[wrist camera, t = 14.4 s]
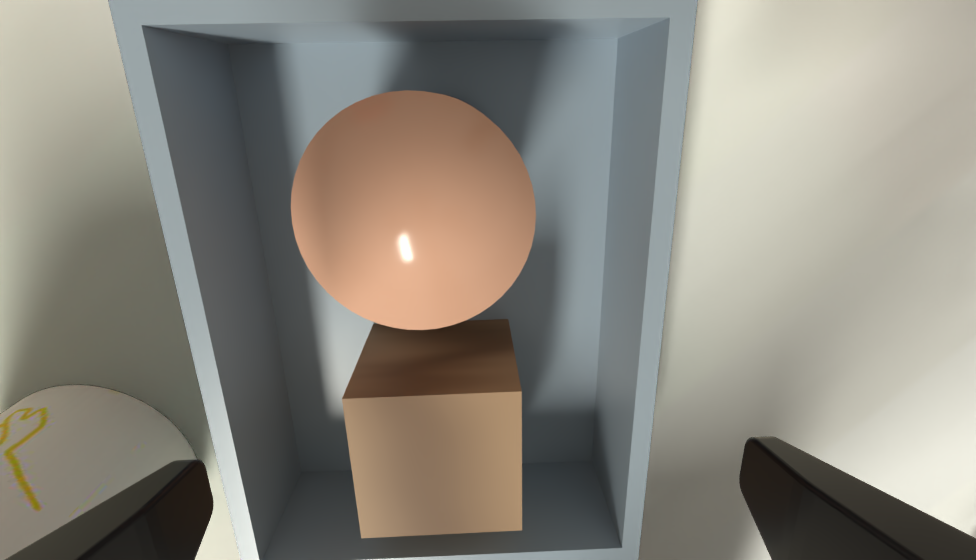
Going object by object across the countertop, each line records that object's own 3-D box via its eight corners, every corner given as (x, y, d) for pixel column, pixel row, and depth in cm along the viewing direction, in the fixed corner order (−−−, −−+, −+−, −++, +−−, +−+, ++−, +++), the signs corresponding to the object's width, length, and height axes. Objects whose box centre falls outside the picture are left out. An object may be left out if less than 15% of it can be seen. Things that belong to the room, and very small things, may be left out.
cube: (508, 318, 19) (521, 391, 14) (509, 432, 21) (522, 530, 16) (373, 324, 19) (341, 398, 14) (385, 437, 21) (361, 538, 16)
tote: (601, 462, 22) (638, 560, 17) (293, 474, 22) (244, 578, 17) (632, 19, 16) (698, -13, 12) (213, 25, 16) (107, -5, 11)
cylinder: (507, 91, 16) (537, 88, 10) (508, 242, 18) (534, 325, 11) (349, 94, 16) (272, 93, 10) (365, 247, 18) (308, 334, 11)
